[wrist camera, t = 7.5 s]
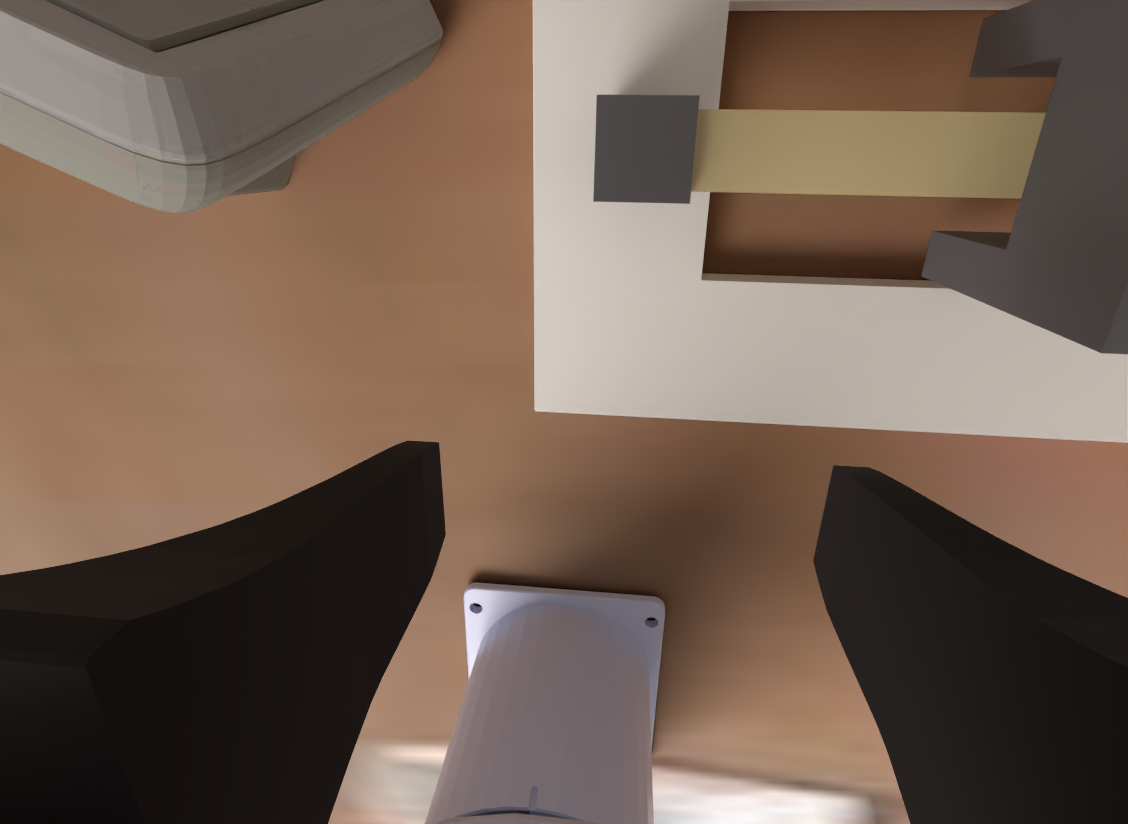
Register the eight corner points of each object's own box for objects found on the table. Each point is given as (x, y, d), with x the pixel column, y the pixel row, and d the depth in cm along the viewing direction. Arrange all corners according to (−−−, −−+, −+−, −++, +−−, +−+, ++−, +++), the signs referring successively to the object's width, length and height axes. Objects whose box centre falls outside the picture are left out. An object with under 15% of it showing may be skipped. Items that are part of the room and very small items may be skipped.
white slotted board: (1155, 429, 20) (1367, 541, 14) (539, 397, 21) (506, 486, 16) (1391, -118, 14) (1894, -296, 9) (539, -102, 16) (488, -241, 10)
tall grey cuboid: (1014, 279, 17) (1256, 359, 10) (921, 276, 17) (1101, 353, 10) (1092, 19, 14) (1473, -91, 8) (983, 19, 14) (1265, -88, 8)
